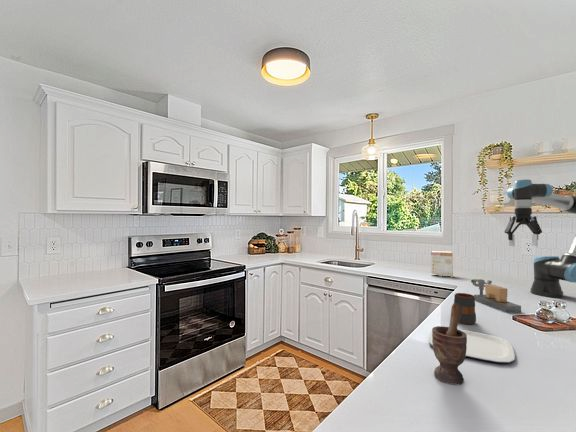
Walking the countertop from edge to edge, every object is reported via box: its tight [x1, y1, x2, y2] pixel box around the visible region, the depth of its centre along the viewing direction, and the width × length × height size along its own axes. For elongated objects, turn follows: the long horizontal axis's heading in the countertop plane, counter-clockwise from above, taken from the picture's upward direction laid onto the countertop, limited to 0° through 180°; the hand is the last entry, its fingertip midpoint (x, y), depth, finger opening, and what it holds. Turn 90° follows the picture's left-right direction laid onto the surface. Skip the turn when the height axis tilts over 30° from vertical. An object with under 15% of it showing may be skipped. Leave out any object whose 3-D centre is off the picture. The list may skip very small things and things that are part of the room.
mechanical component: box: [470, 278, 493, 295], centre depth 173 cm, size 3×10×10 cm, turn 79°
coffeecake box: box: [430, 250, 454, 276], centre depth 238 cm, size 15×7×20 cm, turn 58°
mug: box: [453, 292, 477, 326], centre depth 132 cm, size 9×12×12 cm
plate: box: [428, 328, 516, 364], centre depth 106 cm, size 25×25×2 cm
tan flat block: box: [484, 283, 508, 303], centre depth 156 cm, size 4×10×10 cm, turn 5°
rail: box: [473, 294, 522, 313], centre depth 156 cm, size 8×22×3 cm, turn 5°
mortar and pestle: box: [431, 302, 467, 385], centre depth 86 cm, size 12×9×20 cm
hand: (523, 246), depth 165 cm, fingers open, 13 cm apart
